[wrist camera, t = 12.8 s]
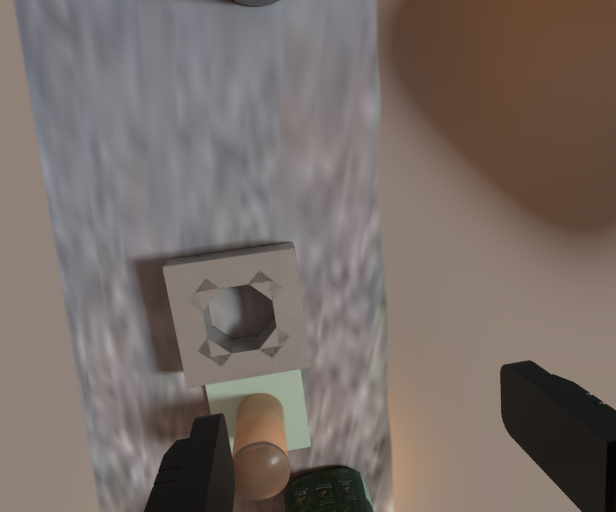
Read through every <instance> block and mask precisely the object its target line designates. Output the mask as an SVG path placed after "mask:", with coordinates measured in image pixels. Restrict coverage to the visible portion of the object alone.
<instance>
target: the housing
mask: <svg viewBox="0 0 616 512" xmlns="http://www.w3.org/2000/svg"><path fill="white" fill-rule="evenodd" d="M162 268H163V273H164V278H165V283H166V287H167V292H168V297H169V302H170V307H171V312H172V317H173V321H174V326H175V331H176V336H177V341H178V346H179V350H180V355H181V360H182V365H183V370H184V375H185V380H186V384H187V388H191V387H197V386H203V385H209V384H215V383H221V382H227V381H233V380H239V379H245V378H251V377H257V376H263V375H269V374H275V373H281V372H287V371H293V370H299V369H305V368H310V367H311V363H310V356H309V348H308V341H307V334H306V326H305V319H304V311H303V304H302V296H301V289H300V281H299V274H298V266H297V259H296V251H295V247H294V244H293V242H288V243H281V244H274V245H267V246H260V247H253V248H246V249H239V250H231V251H224V252H217V253H210V254H203V255H196V256H189V257H182V258H175V259H170V260H169V261H168V262H167V263H166V264H165V265H164V266H163V267H162ZM248 284H249V285H251V286H252V287H254V288H255V289H257V290H258V291H259V292H261V293H262V294H264V295H265V296H267V297H268V298H269V299H271V300H272V301H273V307H274V314H275V316H274V317H273V319H272V320H271V321H270V323H269V324H268V325H267V326H266V328H265V329H264V330H263V332H262V333H261V334H260V335H257V336H251V337H245V338H238V339H233V338H231V337H230V336H228V335H227V334H225V333H224V332H222V331H221V330H219V329H218V328H216V327H215V326H213V325H212V321H211V316H210V310H209V305H208V304H209V302H210V301H211V300H212V298H213V297H214V296H215V294H216V293H217V292H218V290H219V289H221V288H227V287H234V286H241V285H248Z"/></svg>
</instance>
